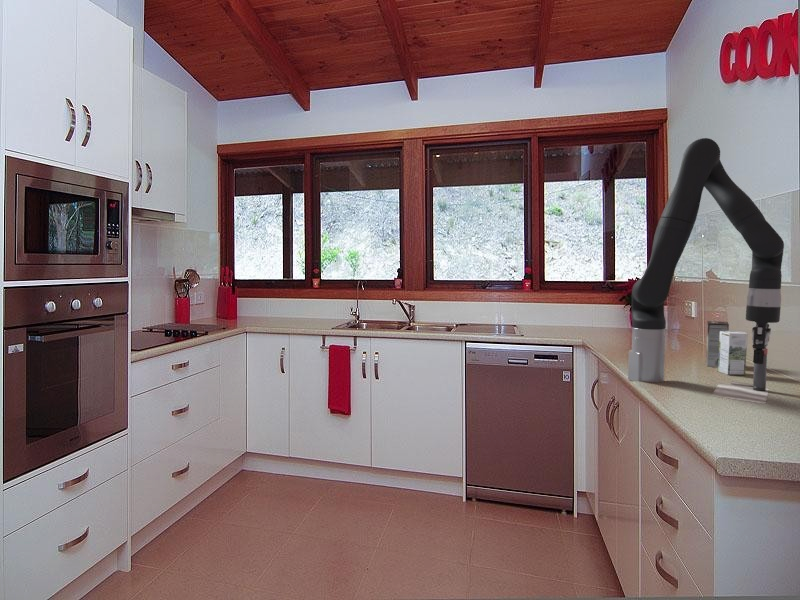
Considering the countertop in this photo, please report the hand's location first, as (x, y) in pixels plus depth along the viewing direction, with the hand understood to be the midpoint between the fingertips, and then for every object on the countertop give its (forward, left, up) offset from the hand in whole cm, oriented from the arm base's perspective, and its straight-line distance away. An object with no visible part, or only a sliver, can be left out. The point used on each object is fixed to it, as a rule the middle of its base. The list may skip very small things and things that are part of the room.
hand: (759, 361), depth 128 cm
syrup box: (+12, +25, -10) cm, 29 cm away
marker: (+1, 0, -8) cm, 8 cm away
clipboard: (-6, -2, -9) cm, 11 cm away
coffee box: (+17, +39, -10) cm, 44 cm away
